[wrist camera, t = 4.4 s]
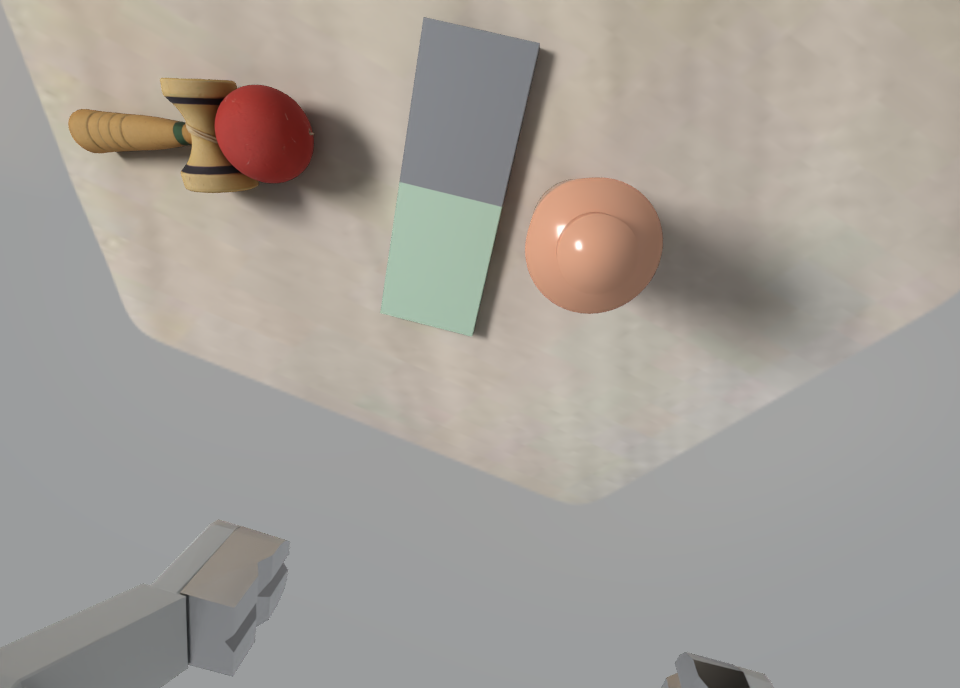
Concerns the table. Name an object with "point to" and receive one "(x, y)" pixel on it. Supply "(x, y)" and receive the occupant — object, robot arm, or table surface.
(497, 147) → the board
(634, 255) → the bottle
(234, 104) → the kendama
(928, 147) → the table surface
